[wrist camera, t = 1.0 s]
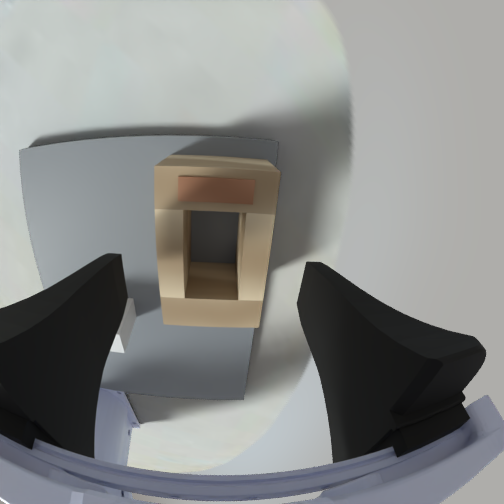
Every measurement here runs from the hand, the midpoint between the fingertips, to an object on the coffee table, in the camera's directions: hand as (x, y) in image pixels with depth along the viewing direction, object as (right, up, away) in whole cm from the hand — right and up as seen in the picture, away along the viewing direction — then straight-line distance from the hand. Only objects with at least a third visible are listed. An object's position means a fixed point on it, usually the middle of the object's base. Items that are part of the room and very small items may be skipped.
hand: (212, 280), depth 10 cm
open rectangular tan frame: (-1, +2, +5) cm, 5 cm away
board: (-6, -2, +8) cm, 10 cm away
